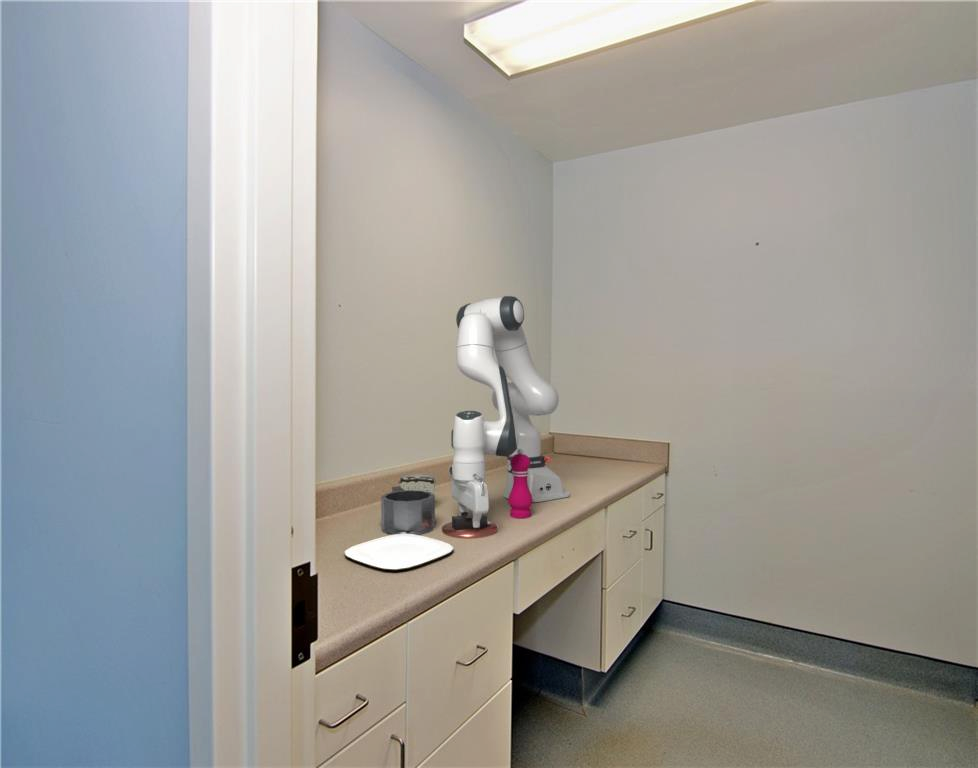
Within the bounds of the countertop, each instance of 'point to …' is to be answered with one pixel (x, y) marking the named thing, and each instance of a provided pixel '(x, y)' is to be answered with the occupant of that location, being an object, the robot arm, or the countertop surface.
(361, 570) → the countertop surface
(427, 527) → the pot
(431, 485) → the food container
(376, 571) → the countertop surface
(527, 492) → the pepper mill
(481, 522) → the lid
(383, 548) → the plate
